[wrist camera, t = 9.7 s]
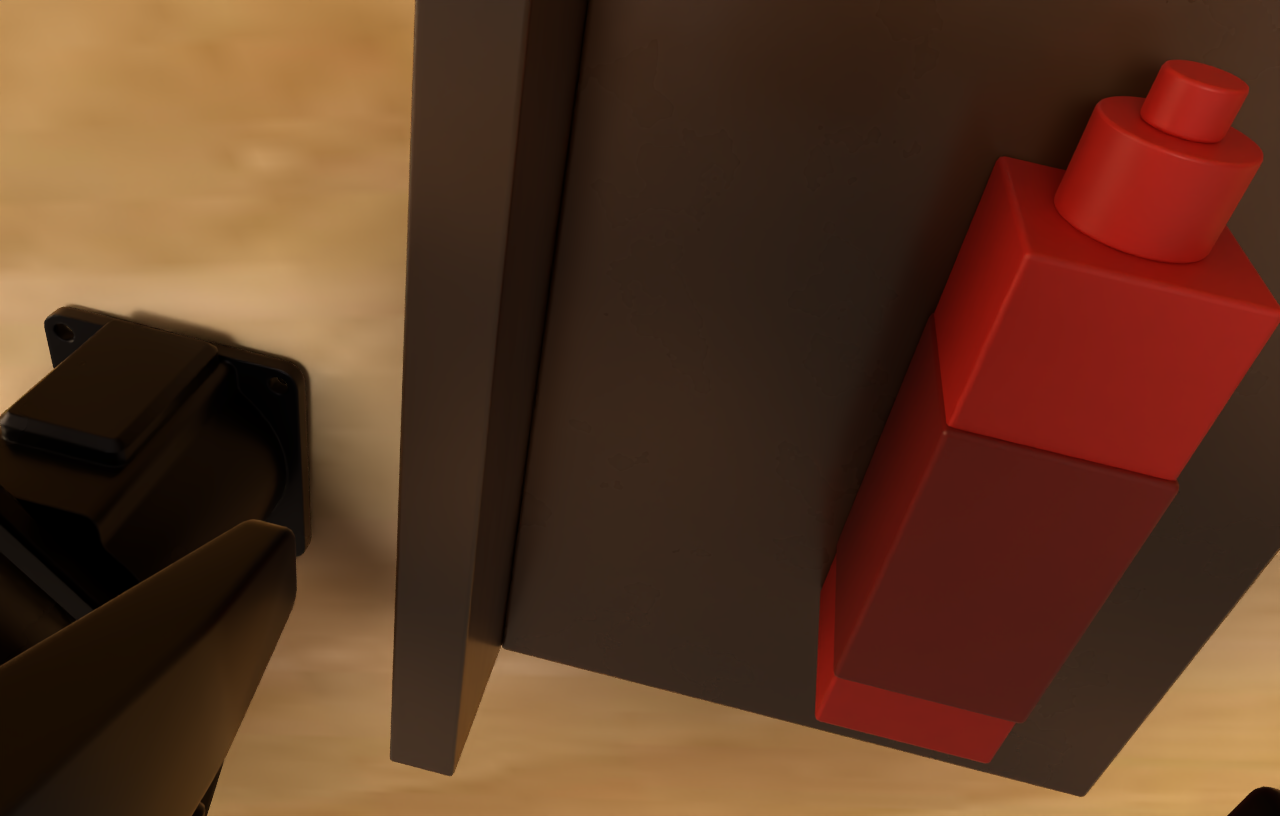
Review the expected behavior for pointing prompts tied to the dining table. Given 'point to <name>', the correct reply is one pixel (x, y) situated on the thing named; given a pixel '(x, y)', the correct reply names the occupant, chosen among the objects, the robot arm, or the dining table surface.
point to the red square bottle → (1045, 418)
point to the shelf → (755, 337)
